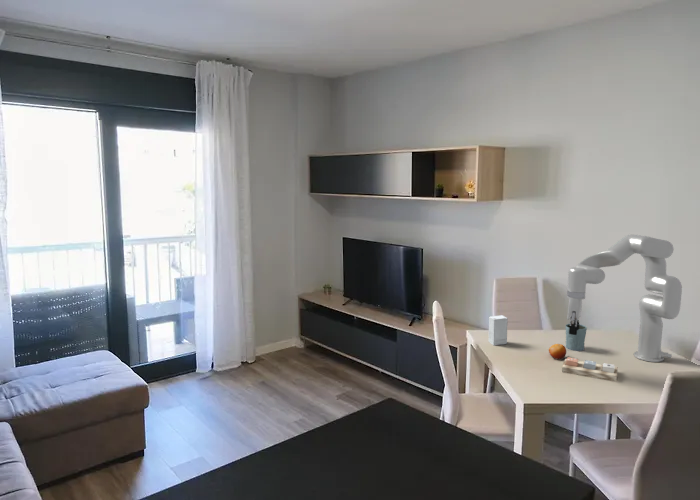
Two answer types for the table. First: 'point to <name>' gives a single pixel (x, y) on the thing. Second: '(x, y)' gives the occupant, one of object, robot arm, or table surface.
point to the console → (590, 371)
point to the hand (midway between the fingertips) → (573, 331)
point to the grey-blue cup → (576, 338)
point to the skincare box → (498, 330)
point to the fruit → (557, 351)
